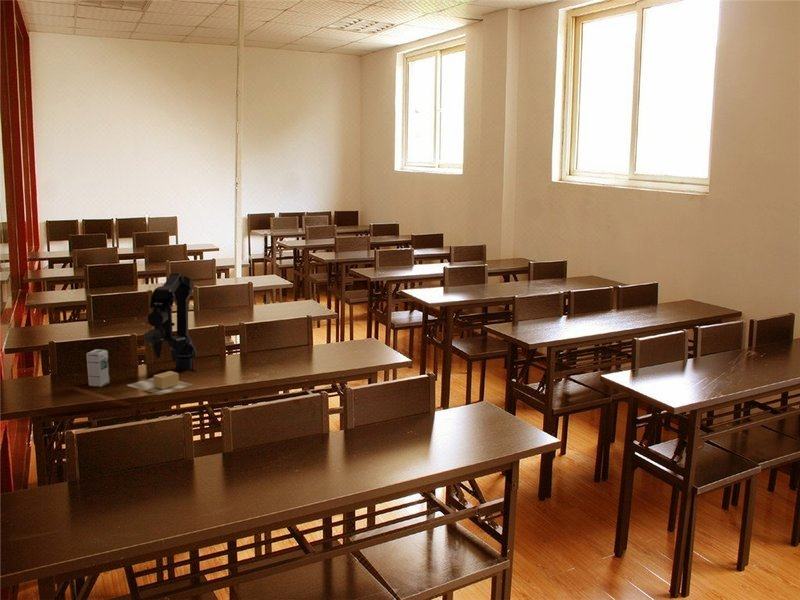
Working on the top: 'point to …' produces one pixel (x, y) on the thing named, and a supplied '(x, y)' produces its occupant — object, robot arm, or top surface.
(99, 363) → the syrup box
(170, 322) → the robot arm
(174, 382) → the sanding block
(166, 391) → the grey patterned flat panel
